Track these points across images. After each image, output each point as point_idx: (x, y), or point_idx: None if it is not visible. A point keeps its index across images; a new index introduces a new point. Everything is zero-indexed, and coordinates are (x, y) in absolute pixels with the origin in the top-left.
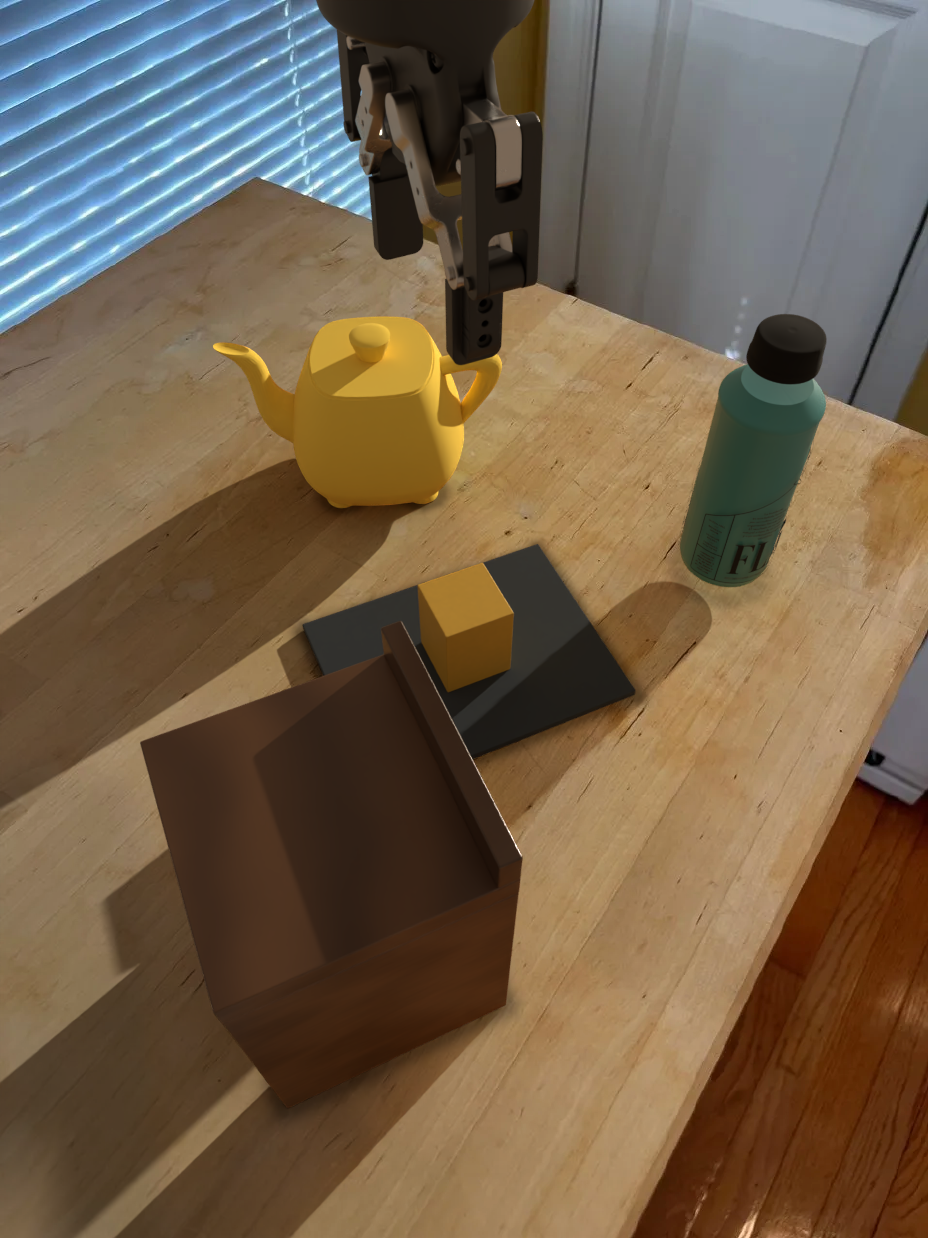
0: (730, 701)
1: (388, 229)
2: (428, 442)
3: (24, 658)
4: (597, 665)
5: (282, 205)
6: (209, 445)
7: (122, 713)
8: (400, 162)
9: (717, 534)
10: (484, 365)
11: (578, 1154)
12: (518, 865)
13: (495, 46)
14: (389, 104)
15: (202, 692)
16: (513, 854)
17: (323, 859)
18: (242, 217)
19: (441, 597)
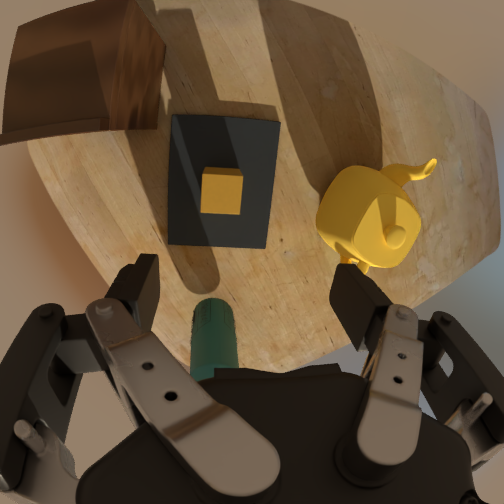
0: None
1: (347, 286)
2: (330, 230)
3: (328, 17)
4: (186, 236)
5: (488, 249)
6: (407, 143)
7: (276, 35)
8: (374, 344)
9: (202, 318)
10: None
11: (39, 140)
12: None
13: None
14: (251, 471)
15: (269, 67)
16: None
17: (36, 66)
18: (493, 231)
19: (228, 183)
